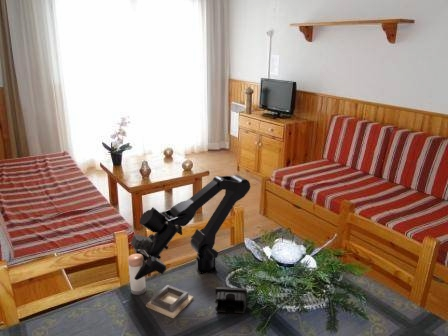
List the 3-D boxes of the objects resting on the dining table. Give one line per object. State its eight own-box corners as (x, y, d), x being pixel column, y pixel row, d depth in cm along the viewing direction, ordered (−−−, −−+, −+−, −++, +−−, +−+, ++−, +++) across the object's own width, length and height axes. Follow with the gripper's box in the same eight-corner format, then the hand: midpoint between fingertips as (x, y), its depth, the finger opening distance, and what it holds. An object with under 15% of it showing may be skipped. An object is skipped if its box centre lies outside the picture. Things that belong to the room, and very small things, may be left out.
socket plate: (167, 288, 131) (166, 281, 130) (193, 298, 126) (193, 291, 125) (146, 306, 122) (145, 299, 121) (173, 318, 117) (173, 311, 116)
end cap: (246, 301, 125) (247, 284, 123) (246, 316, 118) (246, 298, 116) (216, 300, 125) (216, 282, 123) (214, 314, 119) (214, 296, 117)
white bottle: (144, 284, 133) (142, 252, 129) (146, 293, 129) (144, 260, 125) (130, 287, 132) (127, 255, 128) (131, 296, 127) (128, 262, 123)
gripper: (136, 216, 132) (107, 252, 131) (154, 239, 117) (122, 280, 115) (158, 231, 139) (131, 265, 137) (179, 254, 123) (149, 293, 122)
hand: (133, 275), depth 127 cm, fingers closed on white bottle, 5 cm apart
